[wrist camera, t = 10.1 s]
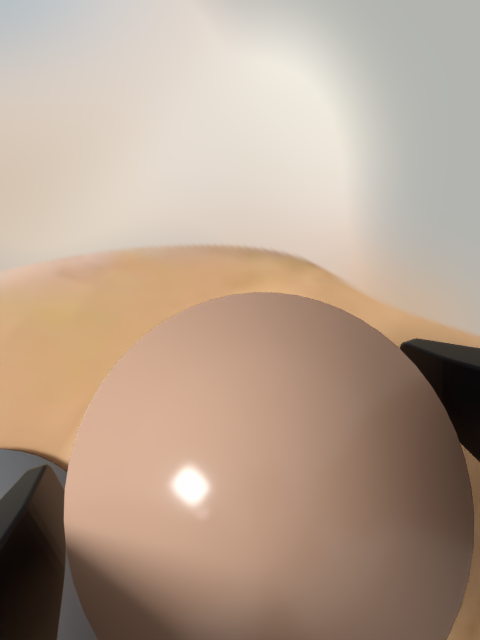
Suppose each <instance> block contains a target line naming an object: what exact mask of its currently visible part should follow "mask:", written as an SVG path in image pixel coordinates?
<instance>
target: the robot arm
mask: <svg viewBox="0 0 480 640" xmlns="http://www.w3.org/2000/svg"><path fill="white" fill-rule="evenodd" d="M400 350H401V351H402V352H403V353H404V354H405V355H406V356H407V357H408V358H409V359H410V360H411V361H412V362H413V363H414V364H415V365H416V366H417V368H418V369H419V370H420V372H421V373H422V374H423V376H424V377H425V378H426V379H427V381H428V382H429V383H430V385H431V386H432V388H433V389H434V391H435V393H436V394H437V396H438V398H439V399H440V401H441V403H442V404H443V406H444V407H445V410H446V412H447V414H448V416H449V418H450V420H451V422H452V425H453V427H454V429H455V431H456V433H457V436H458V439H459V442H460V443H461V444H462V445H463V446H464V447H465V448H466V449H467V450H468V451H469V452H470V453H471V454H472V455H473V456H474V457H475V458H476V459H477V460H478V461H479V462H480V348H474V347H468V346H461V345H455V344H449V343H442V342H436V341H430V340H423V339H412V340H409V341H407V342H404V343H402V344H401V346H400ZM64 495H65V490H64V488H63V486H62V484H61V483H60V481H59V479H58V477H57V475H56V474H55V472H54V470H53V468H52V467H51V466H50V465H49V464H43V465H40V466H37V467H34V468H31V469H29V470H27V471H26V472H25V473H24V474H23V476H22V477H21V478H20V479H19V480H18V481H17V482H16V483H15V484H14V485H13V486H12V487H11V489H10V490H9V491H8V492H7V493H6V494H5V495H4V496H3V497H2V498H1V499H0V640H57V636H58V628H59V620H60V612H61V604H62V596H63V588H64V579H65V567H66V541H65V529H64Z"/></svg>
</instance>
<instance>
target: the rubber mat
mask: <svg viewBox="0 0 480 640" xmlns="http://www.w3.org/2000/svg"><path fill="white" fill-rule="evenodd" d="M43 464H49V465H50V466H51V467H52V468H53V470H54V472H55V474H56V475H57V477H58V479H59V481H60V483H61V484H62V486H63V488H64V490H65V484H66V478H67V471H65V470H64V469H62V468H61V467H59V466H58V465H56V464H55V463H53V462H51V461H49V460H47V459H45V458H42V457H40V456H37V455H34V454H30V453H27V452H22V451H14V450H7V449H0V499H1V498H2V497H3V496H4V495H5V494H6V493H7V492H8V491H9V490H10V489H11V487H12V486H13V485H14V484H15V483H16V482H17V481H18V480H19V479H20V478H21V477H22V476H23V474H24V473H25V472H26V471H27V470H29V469H31V468H34V467H37V466H40V465H43ZM57 640H98V639H97V637H96V635H95V633H94V631H93V629H92V627H91V625H90V624H89V622H88V620H87V618H86V616H85V614H84V611H83V608H82V605H81V603H80V600H79V597H78V594H77V592H76V589H75V586H74V583H73V579H72V574H71V570H70V565H69V561H68V556H67V552H66V567H65V579H64V588H63V596H62V604H61V612H60V620H59V628H58V636H57Z"/></svg>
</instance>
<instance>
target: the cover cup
mask: <svg viewBox="0 0 480 640" xmlns="http://www.w3.org/2000/svg"><path fill="white" fill-rule="evenodd" d="M64 529H65V541H66V552H67V556H68V561H69V565H70V570H71V574H72V579H73V583H74V586H75V589H76V592H77V594H78V597H79V600H80V603H81V605H82V608H83V611H84V614H85V616H86V618H87V620H88V622H89V624H90V625H91V627H92V629H93V631H94V633H95V635H96V637H97V639H98V640H446V639H447V637H448V636H449V633H450V631H451V629H452V626H453V624H454V622H455V619H456V617H457V614H458V612H459V610H460V607H461V604H462V601H463V597H464V593H465V590H466V586H467V582H468V579H469V574H470V567H471V560H472V553H473V545H474V510H473V501H472V491H471V484H470V479H469V475H468V470H467V465H466V461H465V457H464V454H463V451H462V448H461V445H460V442H459V439H458V436H457V433H456V431H455V429H454V427H453V425H452V422H451V420H450V418H449V416H448V414H447V412H446V410H445V407H444V406H443V404H442V403H441V401H440V399H439V398H438V396H437V394H436V393H435V391H434V389H433V388H432V386H431V385H430V383H429V382H428V381H427V379H426V378H425V377H424V376H423V374H422V373H421V372H420V370H419V369H418V368H417V366H416V365H415V364H414V363H413V362H412V361H411V360H410V359H409V358H408V357H407V356H406V355H405V354H404V353H403V352H402V351H401V350H400V348H399V347H397V346H396V345H395V344H394V343H393V342H391V341H390V340H389V339H388V338H387V337H385V336H384V335H383V334H382V333H381V332H379V331H378V330H376V329H375V328H373V327H372V326H370V325H369V324H367V323H366V322H364V321H363V320H361V319H359V318H357V317H355V316H353V315H351V314H350V313H348V312H346V311H344V310H342V309H339V308H337V307H334V306H332V305H329V304H326V303H324V302H321V301H318V300H314V299H310V298H306V297H302V296H298V295H290V294H282V293H261V292H254V293H244V294H235V295H229V296H225V297H221V298H216V299H212V300H209V301H206V302H203V303H200V304H198V305H195V306H192V307H190V308H188V309H186V310H184V311H182V312H180V313H178V314H176V315H174V316H172V317H170V318H168V319H167V320H165V321H164V322H162V323H161V324H159V325H158V326H156V327H155V328H153V329H151V330H150V331H149V332H148V333H147V334H145V335H144V336H143V337H142V338H141V339H139V340H138V341H137V342H136V343H135V344H134V345H132V346H131V348H130V349H129V350H128V351H127V352H126V353H125V354H124V355H123V356H122V357H121V358H120V359H119V360H118V362H117V363H116V364H115V365H114V366H113V368H112V369H111V371H110V372H109V373H108V375H107V376H106V377H105V379H104V380H103V382H102V383H101V384H100V386H99V388H98V390H97V391H96V393H95V395H94V397H93V399H92V400H91V402H90V404H89V406H88V407H87V410H86V412H85V415H84V417H83V419H82V422H81V424H80V427H79V429H78V432H77V434H76V438H75V442H74V445H73V449H72V452H71V456H70V459H69V465H68V471H67V478H66V484H65V495H64Z"/></svg>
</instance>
